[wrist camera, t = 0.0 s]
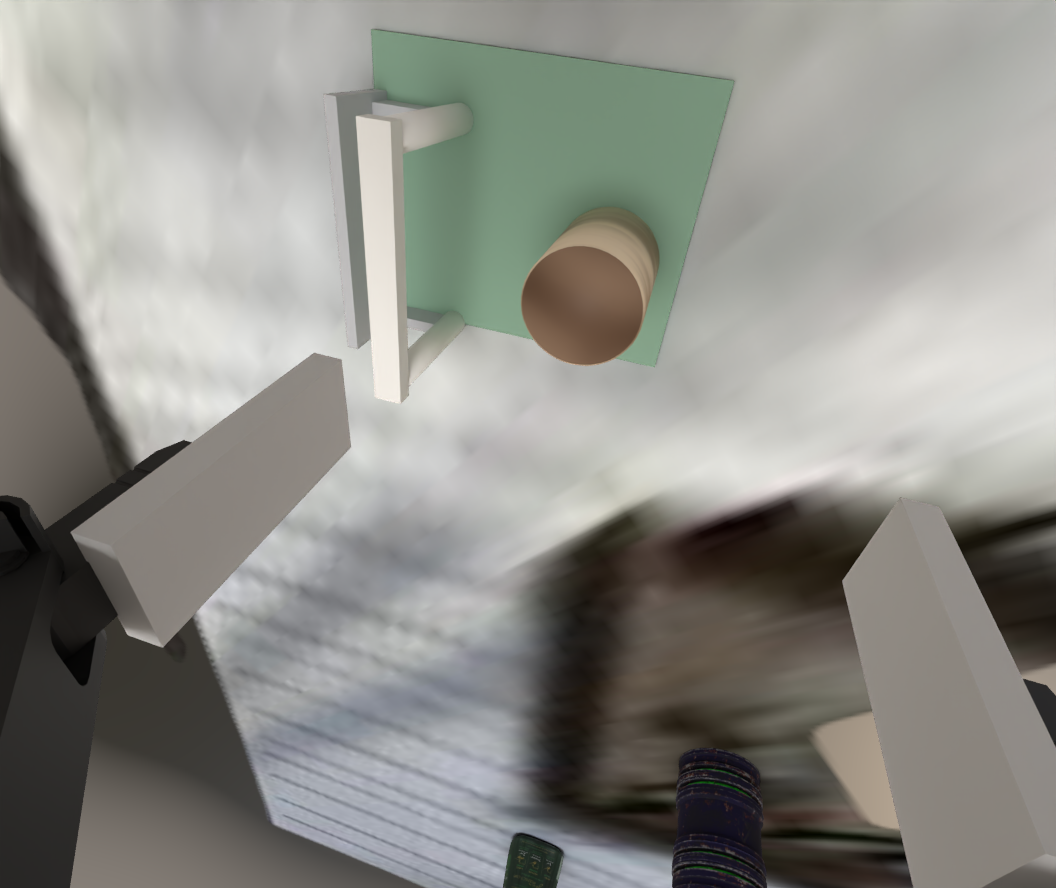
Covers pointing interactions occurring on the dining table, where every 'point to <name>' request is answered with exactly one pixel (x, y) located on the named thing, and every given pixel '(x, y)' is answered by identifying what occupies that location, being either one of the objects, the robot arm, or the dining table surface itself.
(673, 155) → the pitch
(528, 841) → the coffee jar
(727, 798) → the storage jar
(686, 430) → the dining table surface
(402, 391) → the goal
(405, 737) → the dining table surface
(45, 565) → the robot arm
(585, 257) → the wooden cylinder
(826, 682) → the dining table surface
